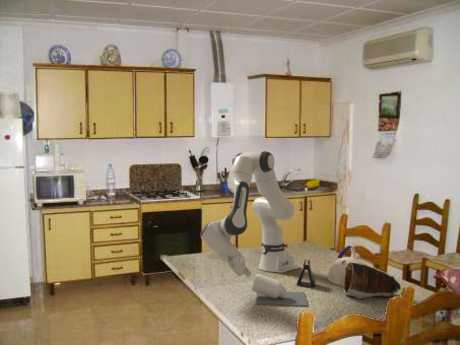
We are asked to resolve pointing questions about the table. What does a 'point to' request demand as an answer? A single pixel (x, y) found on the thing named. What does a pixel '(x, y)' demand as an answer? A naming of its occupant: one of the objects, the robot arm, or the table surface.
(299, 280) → the phone stand
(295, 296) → the mat
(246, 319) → the table surface
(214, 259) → the table surface
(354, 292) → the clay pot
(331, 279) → the kettle
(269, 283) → the pill bottle
